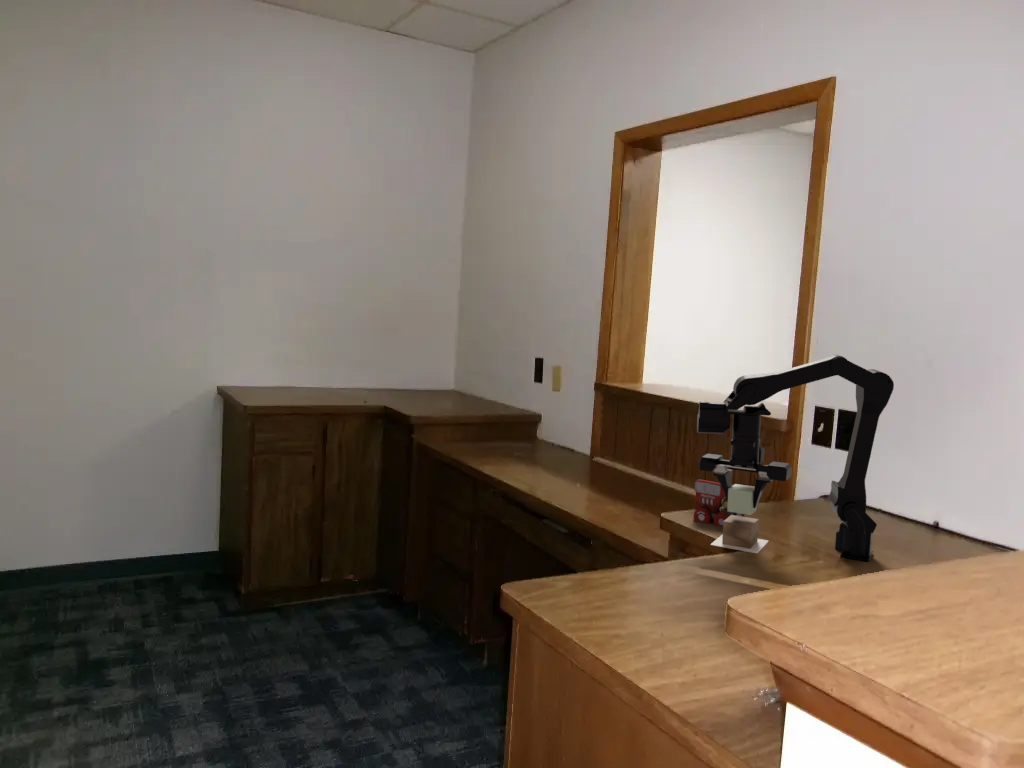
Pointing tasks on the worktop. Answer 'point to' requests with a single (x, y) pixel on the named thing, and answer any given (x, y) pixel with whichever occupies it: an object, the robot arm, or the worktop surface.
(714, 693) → the worktop surface
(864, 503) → the robot arm
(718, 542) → the build pad
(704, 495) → the toy fire truck
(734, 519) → the walnut block
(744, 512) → the sage cube
